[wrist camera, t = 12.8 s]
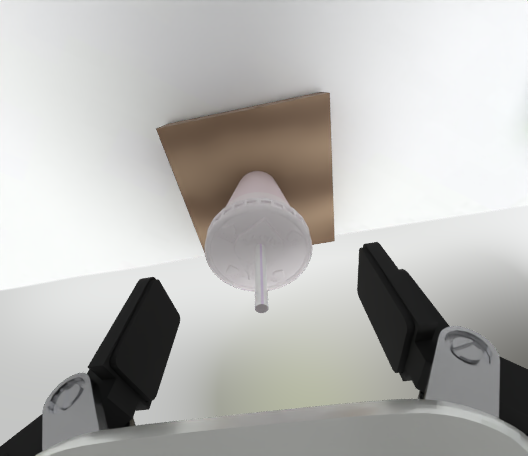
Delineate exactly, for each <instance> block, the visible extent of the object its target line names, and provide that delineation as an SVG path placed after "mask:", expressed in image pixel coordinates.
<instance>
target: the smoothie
mask: <svg viewBox="0 0 528 456" xmlns="http://www.w3.org/2000/svg"><path fill="white" fill-rule="evenodd" d="M311 255H312V241H311V237H310V233H309V228H308V226H307V224H306V222H305V221H304V219H303V217H302V216H301V215H300V214H299V213H298V212H297V211H296V210H295V209H294V208H292V207H290V205H289V203H288V202H287V200H286V198H285V197H284V195H283V193H282V192H281V190H280V188H279V187H278V185H277V183H276V182H275V180H274V179H273V177H272V176H270V175H269V174H267V173H265V172H262V171H253V172H250V173H248V174H246V175H245V176H244V177H243V178H242V179H241V180H240V182H239V184H238V186H237V187H236V189H235V191H234V193H233V195H232V196H231V198H230V200H229V202H228V204H227V205H226V207H225V208H223V209H222V210H221V211H220V212H219V213H218V214H217V215H216V216H215V217H214V218H213V220H212V222H211V224H210V226H209V228H208V231H207V237H206V241H205V257H206V260H207V263H208V265H209V267H210V268H211V270H212V271H213V272H214V273H215V275H216V276H217V277H219V278H220V279H221V280H222V281H224V282H225V283H227V284H229V285H231V286H233V287H236V288H239V289H242V290H248V291H255V310H256V311H257V312H259V313H264V312H266V311H267V310H268V294H267V291H269V290H273V289H277V288H280V287H283V286H285V285H287V284H289V283H291V282H292V281H294V280H295V279H296V278H297V277H299V276H300V275H301V274H302V273H303V271H304V270H305V269H306V267H307V265H308V264H309V261H310V259H311Z"/></svg>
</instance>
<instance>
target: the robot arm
mask: <svg viewBox="0 0 528 456" xmlns="http://www.w3.org/2000/svg"><path fill="white" fill-rule="evenodd" d="M357 291H358V295H359V298H360V300H361V302H362V305H363V307H364V309H365V311H366V313H367V315H368V318H369V320H370V322H371V324H372V326H373V328H374V330H375V332H376V334H377V337H378V339H379V341H380V343H381V345H382V347H383V350H384V352H385V354H386V356H387V358H388V360H389V363H390V365H391V367H392V369H393V371H394V372H395V373H400V375H401V378H402V380H403V381H410V380H412V381H413V383H414V385H415V387H416V388H417V389H418V390H420V391H419V395H418V399H399V400H398V399H397V400H382V401H369V402H357V403H345V404H336V405H326V406H315V407H305V408H296V409H285V410H276V411H266V412H257V413H248V414H237V415H228V416H219V417H209V418H200V419H191V420H182V421H173V422H164V423H155V424H145V425H138V426H136V425H135V422H134V419H133V416H134V413H135V410H136V411H137V410H146V409H149V408H150V405H151V402H152V400H154V399H155V397H156V395H157V392H158V389H159V386H160V383H161V380H162V376H163V373H164V370H165V367H166V364H167V361H168V358H169V354H170V351H171V348H172V345H173V342H174V339H175V336H176V333H177V330H178V326H179V323H180V315H179V313H178V312H177V310H176V308H175V307H174V305H173V303H172V301H171V300H170V298H169V296H168V295H167V293H166V291H165V290H164V288H163V286H162V284H161V283H160V281H159V280H156V279H155V278H154V277H150V278H143V279H140V280H139V281H138V283H137V284H136V286H135V288H134V290H133V291H132V293H131V295H130V296H129V298H128V300H127V301H126V303H125V305H124V306H123V308H122V310H121V312H120V313H119V315H118V317H117V318H116V320H115V322H114V324H113V325H112V327H111V328H110V330H109V332H108V334H107V335H106V337H105V339H104V341H103V342H102V344H101V346H100V347H99V349H98V351H97V352H96V354H95V355H94V357H93V359H92V361H91V362H90V364H89V366H88V368H89V371H88V373H87V374H85V373H78V374H75V375H72V376H70V377H69V378H67V379H65V380H64V381H63V382H62V383H60V384H59V385H58V386H57V387H56V388H55V389H54V390H53V391H52V393H51V394H50V396H49V397H48V398H47V400H46V402H45V404H44V407H43V414H42V415H40V416H39V417H38V418H37V419H35V420H34V421H33V422H31V423H30V424H29V425H28V426H26V427H25V428H24V429H22V430H21V431H20V432H18V433H17V434H16V435H15V436H13V437H12V438H11V439H9V440H8V441H7V442H6V443H4V444H3V445H2V446H0V456H528V369H526V368H524V367H521V366H519V365H517V364H515V363H513V362H510V361H508V360H506V359H504V358H502V357H499V354H498V352H497V350H496V349H495V347H494V346H493V344H491V342H490V341H489V340H488V339H486V338H485V337H484V336H482V335H481V334H479V333H477V332H475V331H473V330H471V329H468V328H465V327H461V326H451V327H450V326H449V325H448V324H447V322H446V321H445V320H444V318H442V316H441V315H440V313H439V312H438V311H437V310H436V308H435V307H434V306H433V304H432V303H431V302H430V300H429V299H428V298H427V297H426V295H425V294H424V293H423V291H422V290H421V289H420V288H419V286H418V285H417V284H416V282H415V281H414V280H413V279H412V277H411V276H410V275H409V273H408V272H407V271H405V270H403V269H400V270H399V269H398V268H397V266H396V265H395V264H394V262H393V261H392V260H391V258H390V257H389V256H388V255H387V253H386V252H385V250H384V249H383V248H382V246H381V245H380V244H379V243H378V242H374V243H368V244H364V245H363V248H360V249H359V266H358V288H357Z"/></svg>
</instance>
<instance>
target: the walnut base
mask: <svg viewBox="0 0 528 456" xmlns="http://www.w3.org/2000/svg"><path fill="white" fill-rule="evenodd" d="M156 130H157V132H158V135H159V137H160V140H161V143H162V145H163V148H164V150H165V153H166V155H167V158H168V160H169V163H170V166H171V168H172V171H173V173H174V176H175V178H176V181H177V183H178V186H179V189H180V191H181V194H182V196H183V199H184V201H185V204H186V206H187V209H188V212H189V214H190V217H191V219H192V222H193V224H194V227H195V229H196V232H197V235H198V237H199V240H200V242H201V245H202V247H203V250H204V252H205V241H206V237H207V231H208V228H209V226H210V224H211V222H212V220H213V218H214V217H215V216H216V215H217V214H218V213H219V212H220V211H221V210H222V209H223V208H225V207H226V205H227V204H228V202H229V200H230V198H231V196H232V195H233V193H234V191H235V189H236V187H237V186H238V184H239V182H240V180H241V179H242V178H243V177H244V176H245V175H246V174H248V173H250V172H253V171H262V172H265V173H267V174H269V175H270V176H272V177H273V179H274V180H275V182H276V183H277V185H278V187H279V188H280V190H281V192H282V193H283V195H284V197H285V198H286V200H287V202H288V203H289V205H290V207H292V208H294V209H295V210H296V211H297V212H298V213H299V214H300V215H301V216H302V217H303V219H304V221H305V222H306V224H307V226H308V228H309V233H310V237H311V241H312V245H314V244H320V243H326V242H332V241H334V212H333V182H332V151H331V121H330V93H326V92H319V93H314V94H309V95H304V96H300V97H295V98H290V99H285V100H280V101H276V102H271V103H266V104H261V105H256V106H252V107H247V108H242V109H237V110H232V111H228V112H223V113H218V114H213V115H208V116H204V117H199V118H194V119H189V120H184V121H180V122H175V123H170V124H167V125H164V126H162V127H159V128H157V129H156Z"/></svg>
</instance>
